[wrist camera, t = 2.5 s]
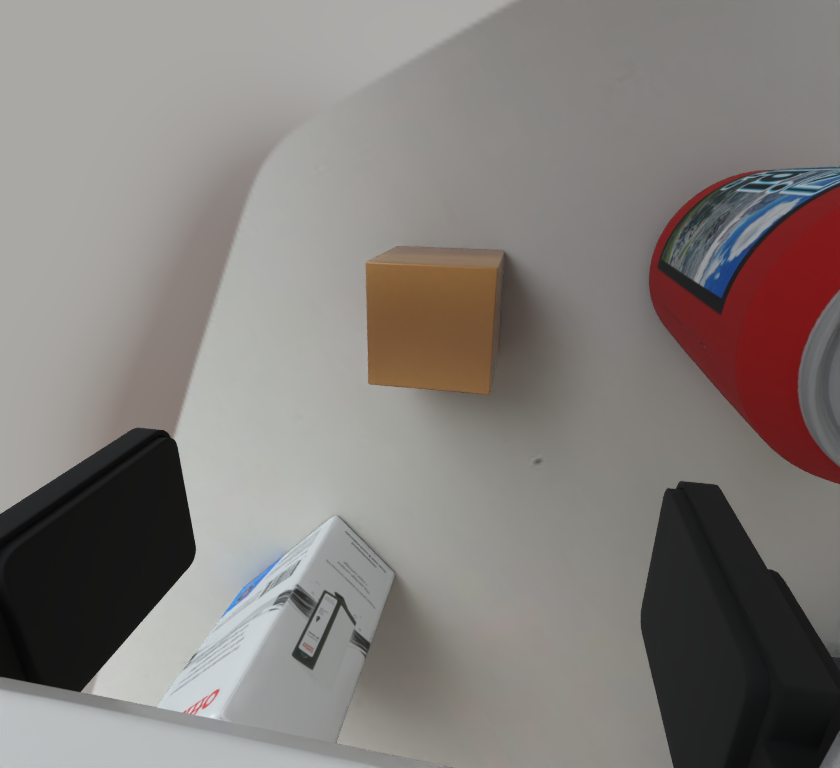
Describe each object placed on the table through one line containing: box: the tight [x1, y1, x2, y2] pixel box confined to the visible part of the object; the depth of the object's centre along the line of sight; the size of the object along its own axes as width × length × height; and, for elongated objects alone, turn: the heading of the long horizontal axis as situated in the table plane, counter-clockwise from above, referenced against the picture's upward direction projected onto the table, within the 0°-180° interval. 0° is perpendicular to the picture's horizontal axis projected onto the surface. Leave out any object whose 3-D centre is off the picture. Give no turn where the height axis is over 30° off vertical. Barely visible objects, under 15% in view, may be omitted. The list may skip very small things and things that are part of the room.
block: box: [366, 246, 505, 394], centre depth 21 cm, size 4×4×4 cm
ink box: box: [156, 516, 395, 743], centre depth 24 cm, size 9×5×12 cm, turn 134°
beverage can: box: [649, 167, 840, 484], centre depth 15 cm, size 7×7×12 cm
